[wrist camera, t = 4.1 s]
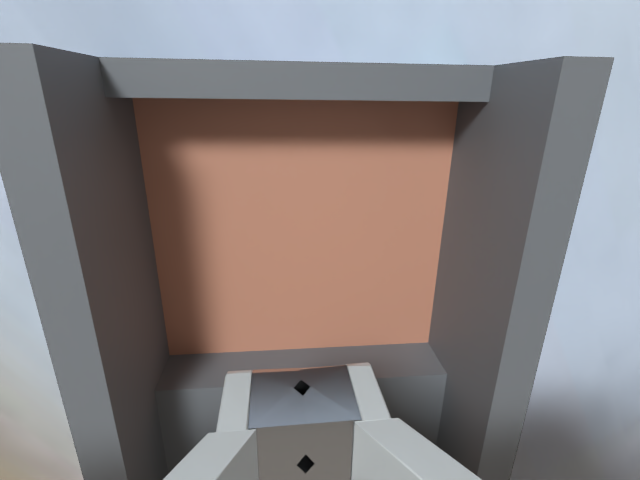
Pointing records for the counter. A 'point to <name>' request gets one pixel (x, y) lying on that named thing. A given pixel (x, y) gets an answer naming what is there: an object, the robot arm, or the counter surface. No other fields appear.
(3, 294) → the counter surface
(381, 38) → the counter surface
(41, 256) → the box
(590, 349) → the counter surface
